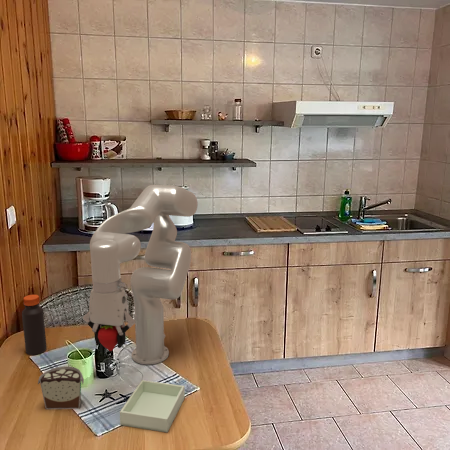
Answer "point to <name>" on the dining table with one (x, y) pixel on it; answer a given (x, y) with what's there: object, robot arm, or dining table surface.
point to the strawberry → (108, 336)
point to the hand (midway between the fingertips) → (110, 343)
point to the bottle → (33, 326)
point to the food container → (61, 388)
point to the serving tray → (153, 406)
